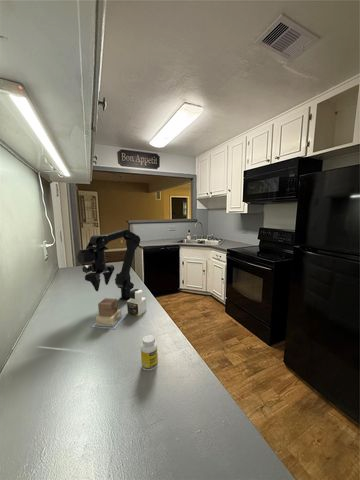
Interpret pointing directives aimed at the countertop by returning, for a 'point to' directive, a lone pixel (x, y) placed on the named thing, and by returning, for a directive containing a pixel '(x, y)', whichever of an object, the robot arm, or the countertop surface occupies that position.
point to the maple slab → (108, 319)
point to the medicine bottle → (136, 303)
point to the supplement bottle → (149, 353)
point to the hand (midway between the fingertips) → (102, 287)
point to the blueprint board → (109, 326)
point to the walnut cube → (107, 307)
